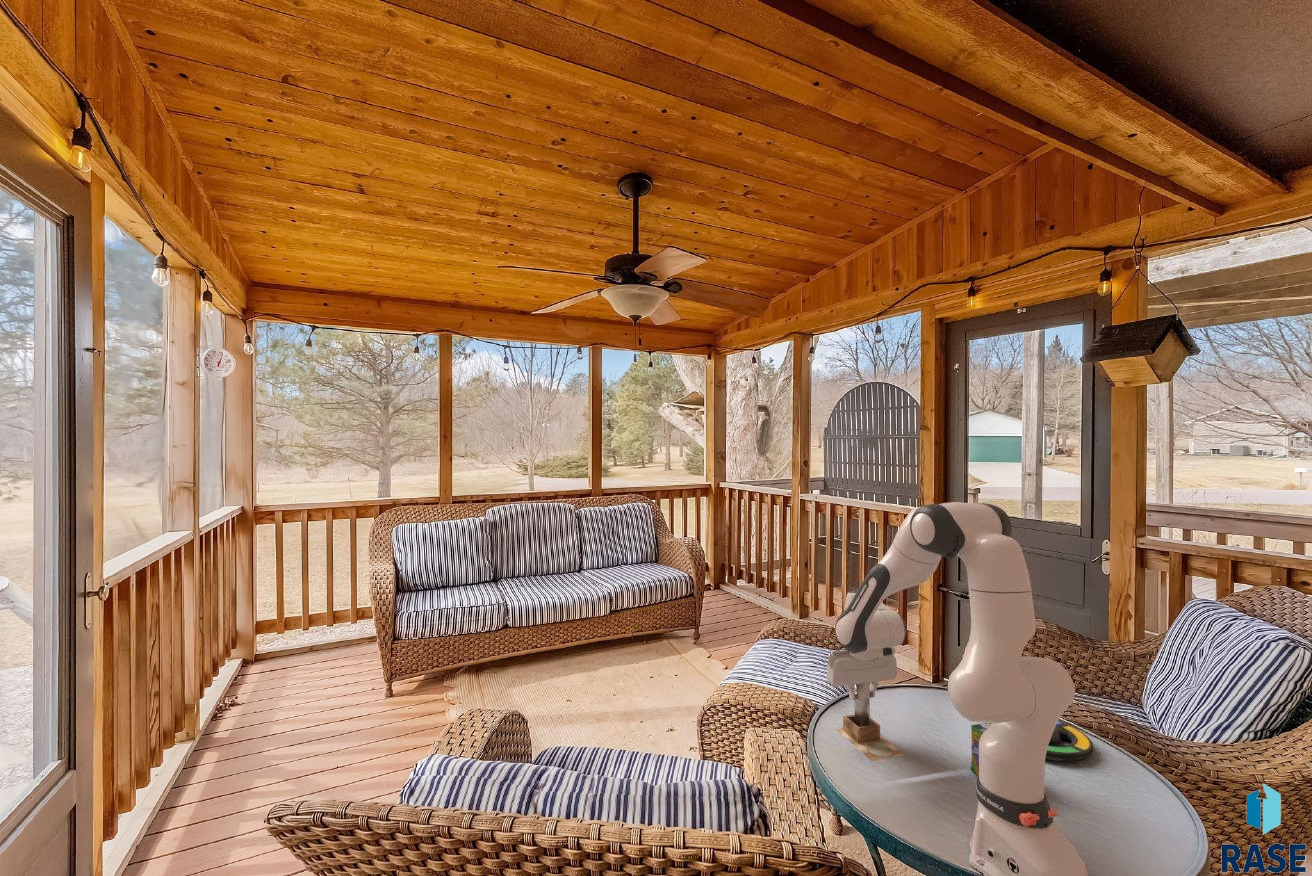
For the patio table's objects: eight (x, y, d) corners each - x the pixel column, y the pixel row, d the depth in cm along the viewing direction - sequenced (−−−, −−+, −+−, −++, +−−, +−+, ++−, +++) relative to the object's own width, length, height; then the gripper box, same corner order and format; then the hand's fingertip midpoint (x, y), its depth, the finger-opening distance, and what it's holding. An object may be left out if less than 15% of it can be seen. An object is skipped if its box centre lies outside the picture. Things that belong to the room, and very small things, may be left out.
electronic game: (1113, 755, 149) (1113, 737, 149) (1056, 775, 140) (1056, 756, 140) (1027, 716, 170) (1027, 700, 170) (973, 731, 162) (973, 714, 162)
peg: (872, 725, 155) (872, 681, 155) (860, 727, 154) (859, 682, 154) (864, 718, 159) (863, 675, 159) (851, 720, 158) (851, 677, 158)
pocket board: (904, 758, 147) (904, 739, 147) (871, 764, 144) (871, 744, 144) (867, 728, 162) (867, 710, 162) (836, 732, 160) (836, 715, 160)
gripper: (834, 655, 151) (835, 707, 151) (900, 648, 156) (900, 698, 156) (822, 647, 157) (822, 697, 157) (885, 640, 162) (886, 689, 162)
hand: (862, 697), depth 157 cm, fingers closed on peg, 4 cm apart
